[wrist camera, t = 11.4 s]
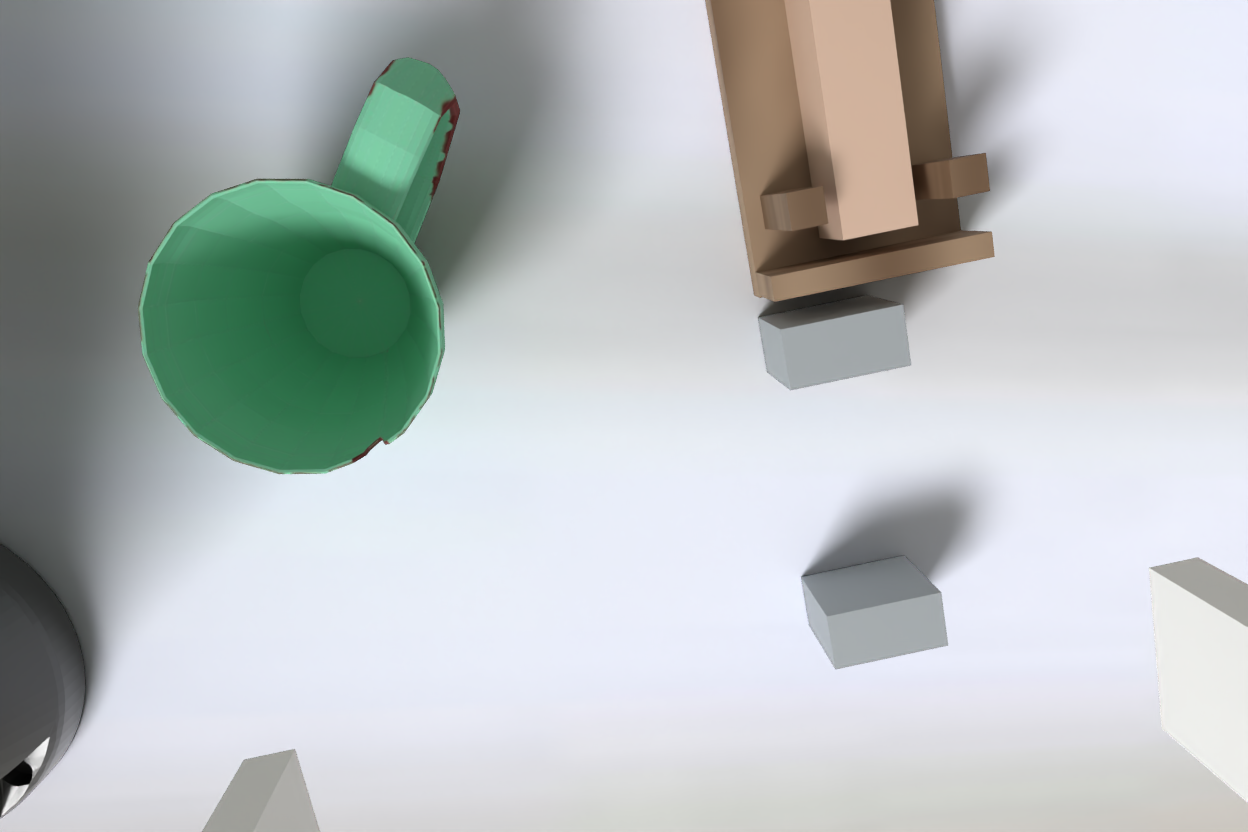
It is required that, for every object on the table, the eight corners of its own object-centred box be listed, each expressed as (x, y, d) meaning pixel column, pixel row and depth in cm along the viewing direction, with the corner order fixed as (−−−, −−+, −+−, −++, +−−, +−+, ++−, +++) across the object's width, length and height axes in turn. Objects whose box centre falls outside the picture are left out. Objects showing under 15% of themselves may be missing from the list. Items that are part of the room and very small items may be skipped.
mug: (413, 451, 42) (368, 522, 33) (204, 353, 41) (91, 397, 31) (560, 149, 40) (559, 128, 30) (343, 34, 38) (268, -28, 29)
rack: (754, 295, 42) (785, 308, 36) (680, -148, 38) (702, -214, 32) (952, 254, 42) (1015, 261, 36) (899, -191, 38) (960, -265, 32)
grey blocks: (809, 625, 45) (835, 669, 41) (757, 317, 42) (780, 329, 38) (910, 603, 45) (948, 645, 41) (867, 294, 42) (903, 304, 38)
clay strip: (819, 238, 40) (843, 240, 37) (766, -118, 37) (787, -152, 34) (888, 223, 40) (918, 224, 37) (841, -132, 37) (869, -168, 34)
